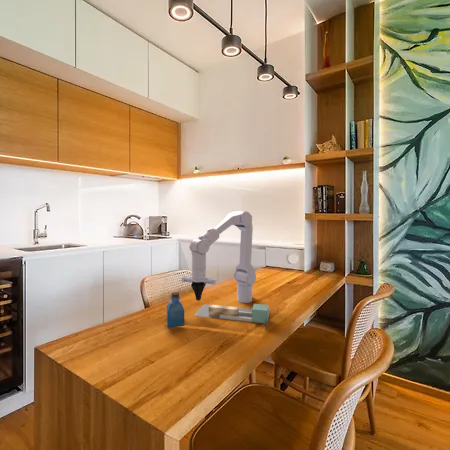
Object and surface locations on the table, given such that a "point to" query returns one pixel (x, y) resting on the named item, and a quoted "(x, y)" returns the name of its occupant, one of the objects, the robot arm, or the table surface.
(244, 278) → the robot arm
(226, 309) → the slat
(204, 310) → the board
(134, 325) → the table surface
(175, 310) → the perfume bottle
